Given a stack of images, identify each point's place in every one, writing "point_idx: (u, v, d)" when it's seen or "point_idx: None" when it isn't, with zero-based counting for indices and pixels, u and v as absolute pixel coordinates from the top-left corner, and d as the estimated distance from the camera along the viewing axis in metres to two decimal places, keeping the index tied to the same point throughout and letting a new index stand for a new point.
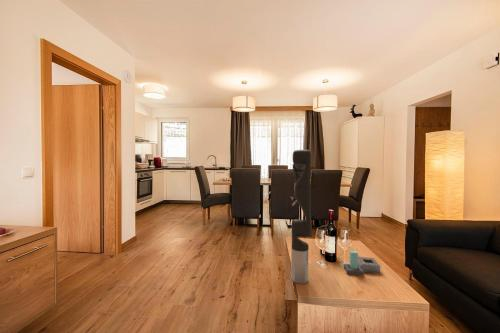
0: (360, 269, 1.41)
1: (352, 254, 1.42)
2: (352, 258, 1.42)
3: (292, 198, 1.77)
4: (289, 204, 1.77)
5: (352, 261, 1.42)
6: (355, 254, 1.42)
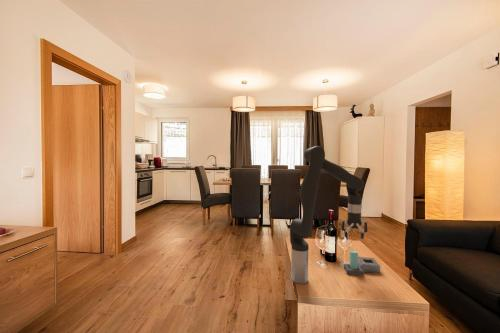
0: (360, 269, 1.41)
1: (352, 254, 1.42)
2: (352, 258, 1.42)
3: (345, 222, 1.44)
4: (342, 229, 1.44)
5: (352, 261, 1.42)
6: (355, 254, 1.42)
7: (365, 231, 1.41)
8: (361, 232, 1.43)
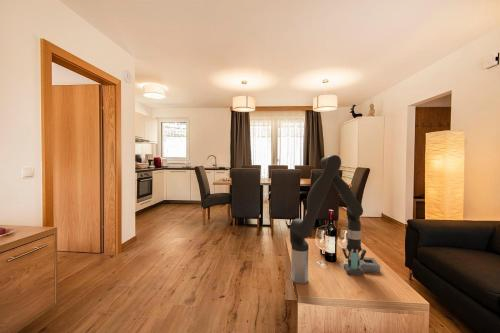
0: (360, 269, 1.41)
1: (352, 254, 1.42)
2: (352, 258, 1.42)
3: (345, 249, 1.44)
4: (345, 257, 1.43)
5: (352, 261, 1.42)
6: (355, 254, 1.42)
7: (361, 258, 1.42)
8: None
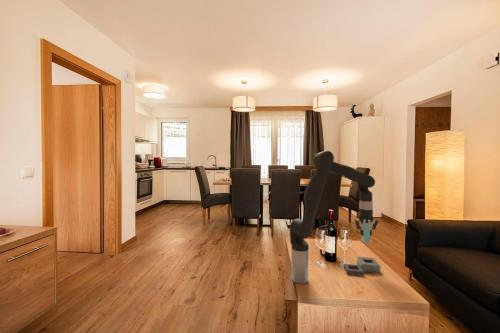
0: (360, 269, 1.41)
1: (364, 224, 1.46)
2: (364, 228, 1.46)
3: (358, 220, 1.48)
4: (358, 228, 1.47)
5: (365, 231, 1.46)
6: (367, 224, 1.46)
7: (373, 228, 1.46)
8: None
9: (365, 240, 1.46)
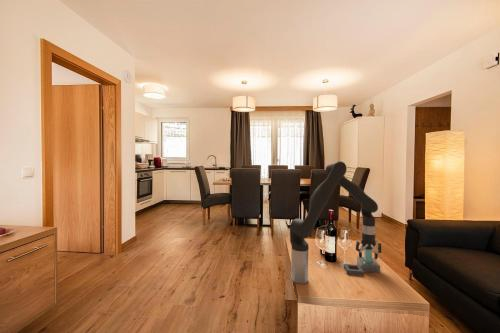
0: (360, 269, 1.41)
1: (366, 251, 1.47)
2: (367, 255, 1.47)
3: (360, 243, 1.49)
4: None
5: (367, 258, 1.47)
6: (369, 251, 1.47)
7: (379, 252, 1.46)
8: (375, 253, 1.48)
9: None
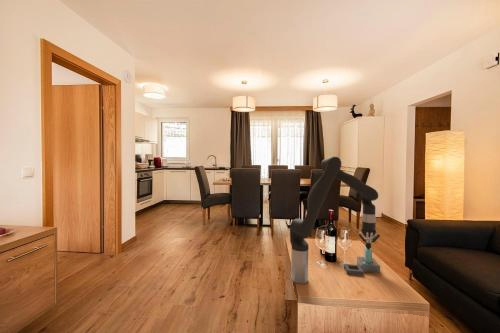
0: (360, 269, 1.41)
1: (367, 251, 1.47)
2: (367, 255, 1.47)
3: (361, 233, 1.49)
4: None
5: (367, 258, 1.47)
6: (369, 251, 1.47)
7: (372, 241, 1.47)
8: None
9: None
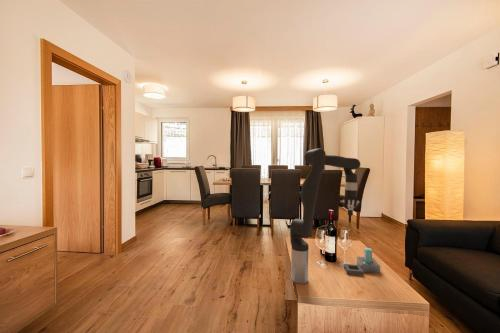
0: (360, 269, 1.41)
1: (367, 251, 1.47)
2: (367, 255, 1.47)
3: (343, 201, 1.57)
4: (345, 208, 1.56)
5: (367, 258, 1.47)
6: (369, 251, 1.47)
7: (354, 208, 1.55)
8: (350, 210, 1.56)
9: None
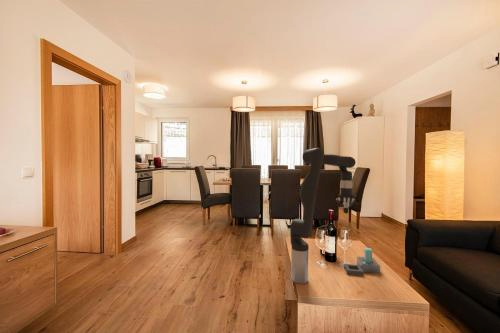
0: (360, 269, 1.41)
1: (367, 251, 1.47)
2: (367, 255, 1.47)
3: (339, 199, 1.59)
4: (341, 206, 1.58)
5: (367, 258, 1.47)
6: (369, 251, 1.47)
7: (349, 206, 1.57)
8: None
9: None
